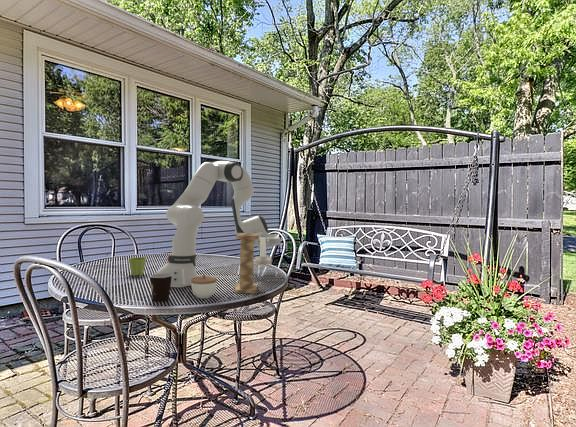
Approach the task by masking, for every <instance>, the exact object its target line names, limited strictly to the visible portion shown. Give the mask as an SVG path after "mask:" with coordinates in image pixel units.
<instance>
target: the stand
mask: <svg viewBox="0 0 576 427" xmlns="http://www.w3.org/2000/svg"><path fill="white" fill-rule="evenodd" d="M235 234H236V233H235ZM235 239H237V240H239V239H240V250H239V252H240V253H239V255H240V256H239V259H240V260H239V283H235V287H234V293H235V294H257V293H258V283H254V259H255V258H254V257H255V256H254V254H255V250H254V248H255V245H254V239H258V233H237V234H236V235H235Z"/></svg>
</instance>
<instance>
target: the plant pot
mask: <svg viewBox="0 0 576 427" xmlns="http://www.w3.org/2000/svg"><path fill="white" fill-rule="evenodd" d="M147 259H148V258H146V257H131V258H128V259H127V261H128V263H129V268H130V276H143V275H144V274H145V273H144V272H145V266H146V262H147Z"/></svg>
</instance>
